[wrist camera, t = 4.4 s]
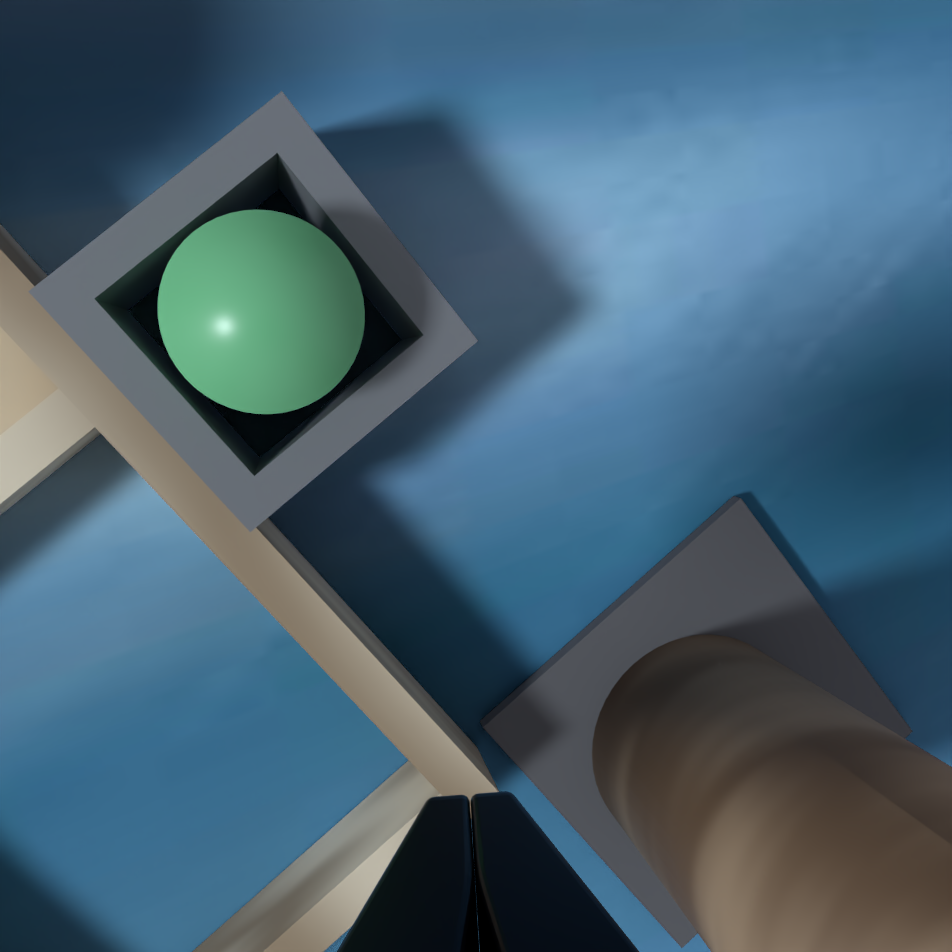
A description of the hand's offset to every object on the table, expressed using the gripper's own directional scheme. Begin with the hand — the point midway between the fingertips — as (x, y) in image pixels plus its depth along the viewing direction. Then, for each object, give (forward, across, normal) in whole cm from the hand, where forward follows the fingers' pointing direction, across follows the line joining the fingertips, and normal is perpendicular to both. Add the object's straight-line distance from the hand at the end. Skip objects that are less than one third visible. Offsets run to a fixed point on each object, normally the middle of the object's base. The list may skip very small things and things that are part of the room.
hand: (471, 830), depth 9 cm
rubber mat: (+13, -7, +8) cm, 17 cm away
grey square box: (+13, +4, -3) cm, 14 cm away
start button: (+12, +4, -4) cm, 13 cm away
